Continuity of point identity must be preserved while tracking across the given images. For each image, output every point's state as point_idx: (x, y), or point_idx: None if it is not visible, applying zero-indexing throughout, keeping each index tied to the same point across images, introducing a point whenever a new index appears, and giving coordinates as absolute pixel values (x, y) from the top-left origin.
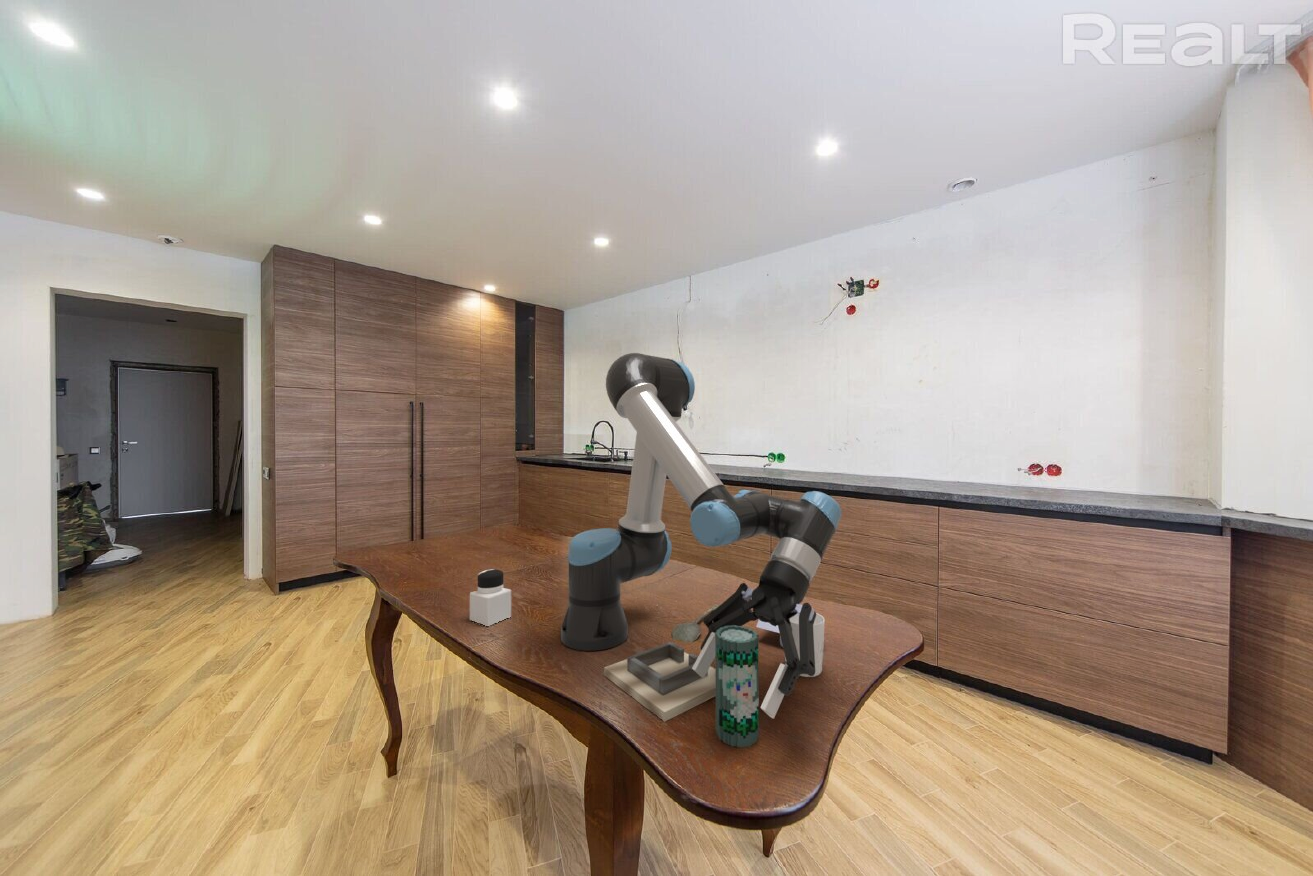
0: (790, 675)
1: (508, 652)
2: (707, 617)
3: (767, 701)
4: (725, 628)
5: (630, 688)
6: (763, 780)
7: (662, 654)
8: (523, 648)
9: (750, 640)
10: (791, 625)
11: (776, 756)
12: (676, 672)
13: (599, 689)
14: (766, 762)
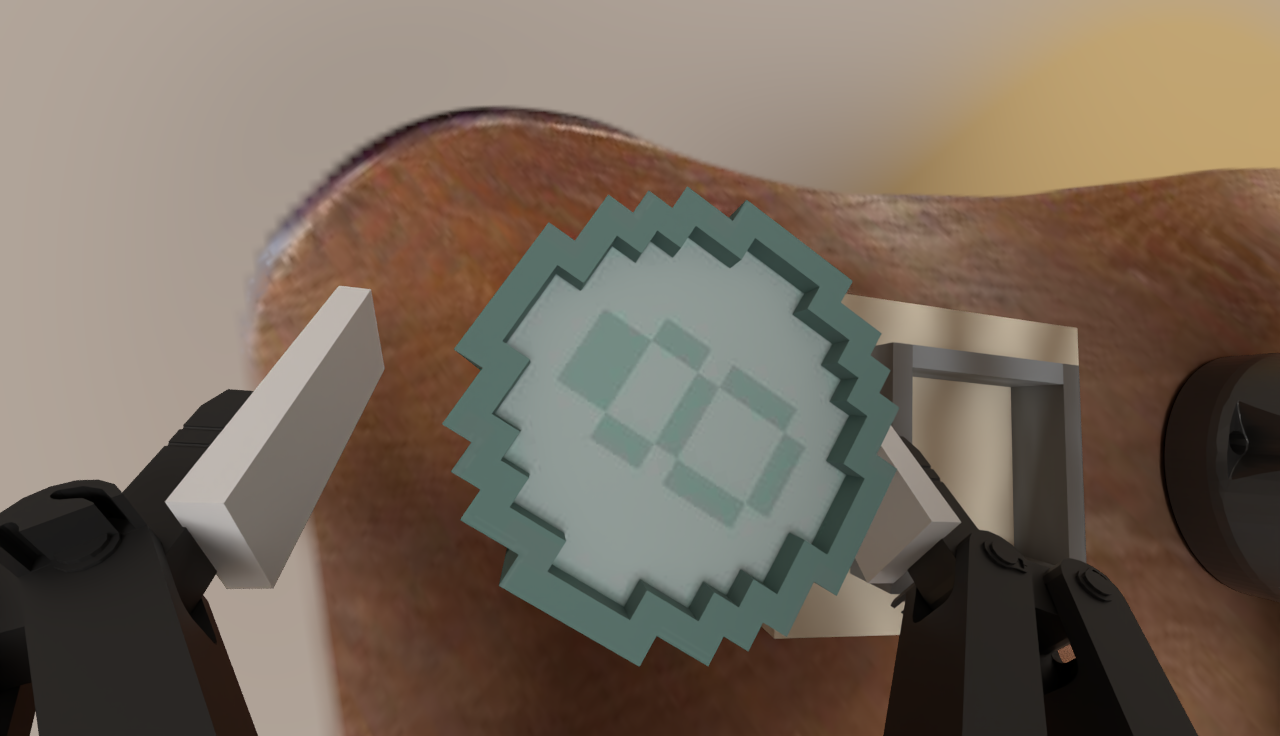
0: (150, 484)
1: (1268, 217)
2: (1124, 614)
3: (328, 310)
4: (853, 437)
5: (944, 309)
6: (396, 295)
7: (1037, 519)
8: (1270, 259)
9: (480, 384)
10: None
11: (423, 416)
12: (904, 423)
13: (998, 273)
14: (433, 368)
